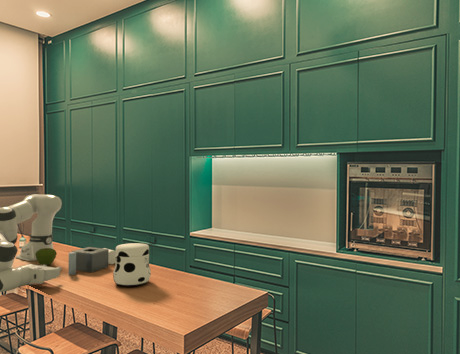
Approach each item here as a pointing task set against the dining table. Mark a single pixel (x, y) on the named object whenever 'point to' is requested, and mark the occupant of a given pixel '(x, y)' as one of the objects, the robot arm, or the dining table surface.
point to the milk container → (132, 264)
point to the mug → (111, 256)
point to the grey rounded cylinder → (72, 263)
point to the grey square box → (91, 259)
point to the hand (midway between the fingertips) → (52, 267)
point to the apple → (45, 256)
